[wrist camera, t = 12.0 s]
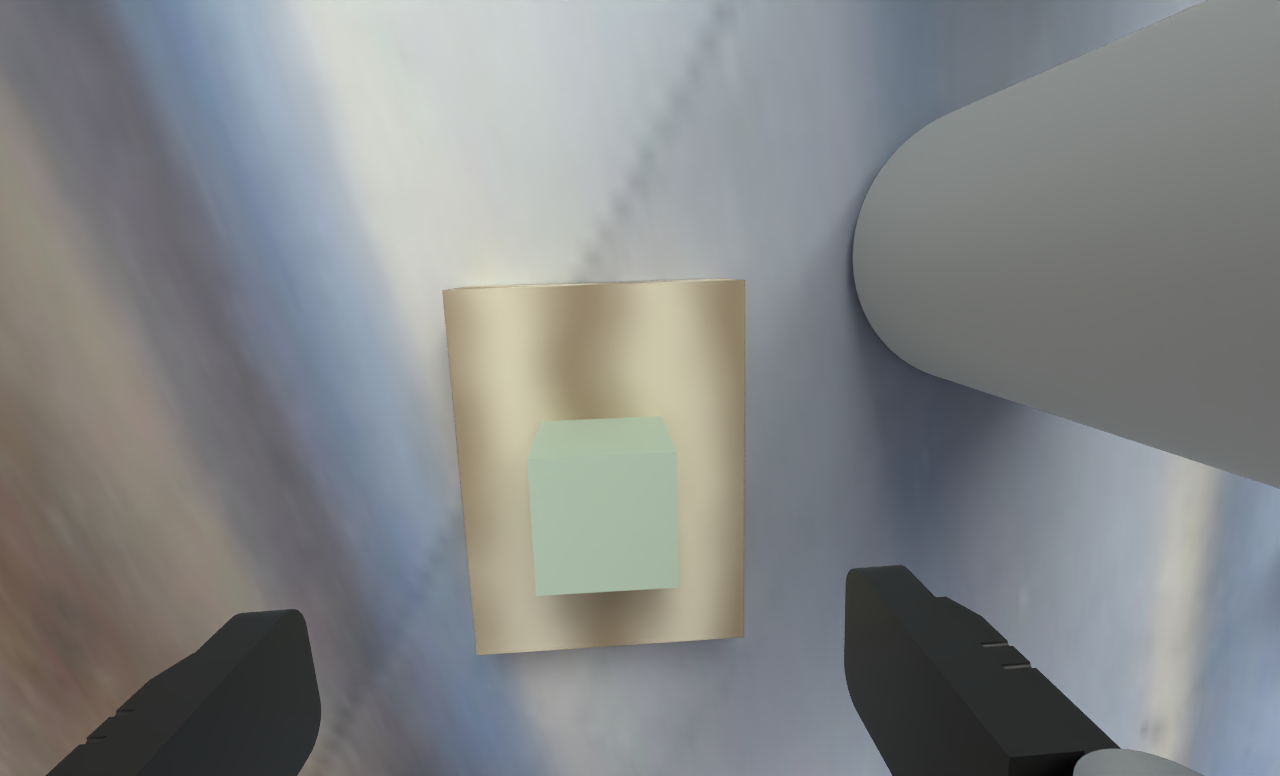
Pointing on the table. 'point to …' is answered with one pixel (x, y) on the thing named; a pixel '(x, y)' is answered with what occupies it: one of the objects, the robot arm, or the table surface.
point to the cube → (603, 506)
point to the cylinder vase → (1102, 240)
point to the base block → (598, 389)
